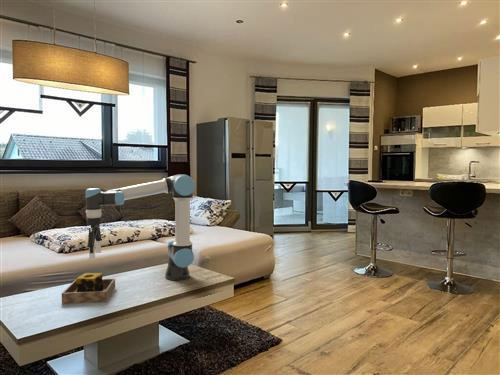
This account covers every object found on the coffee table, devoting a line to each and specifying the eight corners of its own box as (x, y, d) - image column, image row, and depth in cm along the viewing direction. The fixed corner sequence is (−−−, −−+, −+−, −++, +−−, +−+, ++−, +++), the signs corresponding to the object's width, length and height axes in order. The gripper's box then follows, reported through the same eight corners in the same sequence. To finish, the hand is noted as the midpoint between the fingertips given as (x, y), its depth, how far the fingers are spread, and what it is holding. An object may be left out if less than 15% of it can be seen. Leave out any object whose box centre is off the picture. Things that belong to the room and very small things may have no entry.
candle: (103, 290, 206) (103, 272, 206) (95, 297, 196) (94, 278, 196) (85, 290, 207) (85, 272, 206) (76, 296, 197) (75, 278, 196)
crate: (115, 288, 214) (115, 278, 214) (106, 302, 193) (106, 291, 192) (75, 289, 211) (75, 280, 210) (61, 304, 189) (61, 293, 189)
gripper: (92, 213, 214) (93, 250, 215) (80, 220, 189) (81, 262, 191) (106, 213, 215) (107, 249, 217) (95, 220, 191) (97, 261, 192)
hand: (95, 255), depth 204 cm, fingers open, 13 cm apart
